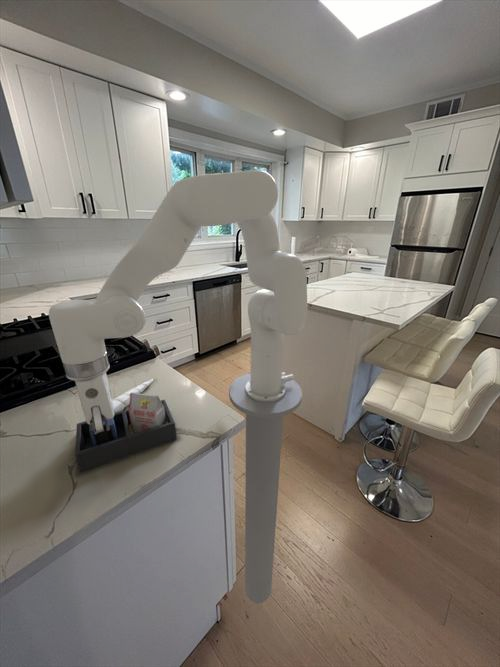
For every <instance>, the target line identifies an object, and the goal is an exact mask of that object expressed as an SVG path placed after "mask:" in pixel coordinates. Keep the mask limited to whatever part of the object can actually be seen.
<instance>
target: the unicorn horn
mask: <svg viewBox="0 0 500 667" xmlns="http://www.w3.org/2000/svg"><path fill="white" fill-rule="evenodd" d="M153 381H154V378H151V379H149V380H147V381H144V382H143V383H141V384H139V385H137V386H135V387H133V388H132V389H129V390H127V391H125V392H124V393H122V394H120V395H119V396H117V397H114V398H112V400H113V407H114V413H117V412H121V411H124V409H126V408H127V407H129V404H130V393H131V392H132V393H139V394H143V392H144V391H145V390H147V387H149V386H150V385H151V384H152V383H153ZM85 421H86V419H85V418H84V422H85Z"/></svg>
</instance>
